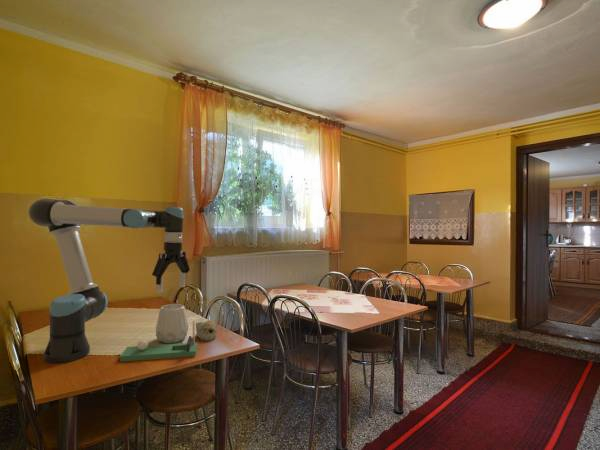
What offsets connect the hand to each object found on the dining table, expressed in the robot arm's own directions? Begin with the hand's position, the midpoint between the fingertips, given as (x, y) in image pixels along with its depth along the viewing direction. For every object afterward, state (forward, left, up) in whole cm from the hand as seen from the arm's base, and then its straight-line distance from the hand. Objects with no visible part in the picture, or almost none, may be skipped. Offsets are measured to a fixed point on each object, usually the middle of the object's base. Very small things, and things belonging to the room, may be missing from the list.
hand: (171, 289), depth 150 cm
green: (-2, -12, -24) cm, 27 cm away
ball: (-9, -12, -22) cm, 27 cm away
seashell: (+15, +6, -25) cm, 29 cm away
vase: (0, +5, -24) cm, 25 cm away
